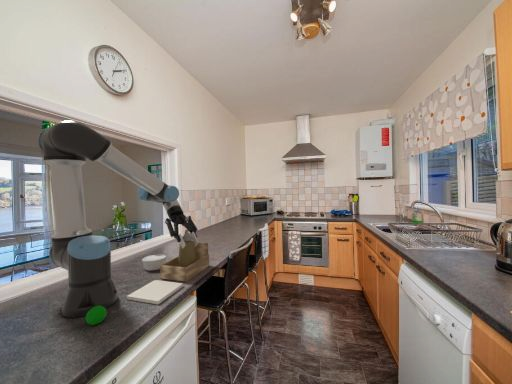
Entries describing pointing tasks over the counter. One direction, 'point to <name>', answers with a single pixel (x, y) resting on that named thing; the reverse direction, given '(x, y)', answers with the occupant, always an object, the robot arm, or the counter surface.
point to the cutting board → (155, 292)
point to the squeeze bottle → (187, 251)
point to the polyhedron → (96, 315)
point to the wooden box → (178, 273)
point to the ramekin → (153, 262)
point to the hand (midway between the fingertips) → (190, 245)
